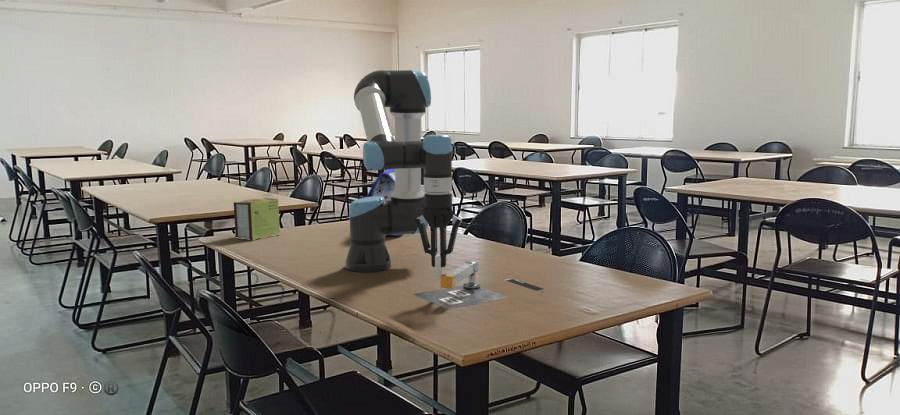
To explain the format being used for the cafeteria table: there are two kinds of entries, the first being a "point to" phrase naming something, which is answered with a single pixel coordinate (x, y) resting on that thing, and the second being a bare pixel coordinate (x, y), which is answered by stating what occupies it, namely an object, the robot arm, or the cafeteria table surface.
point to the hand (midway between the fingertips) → (439, 278)
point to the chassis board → (470, 287)
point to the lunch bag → (384, 186)
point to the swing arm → (459, 274)
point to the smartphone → (525, 285)
